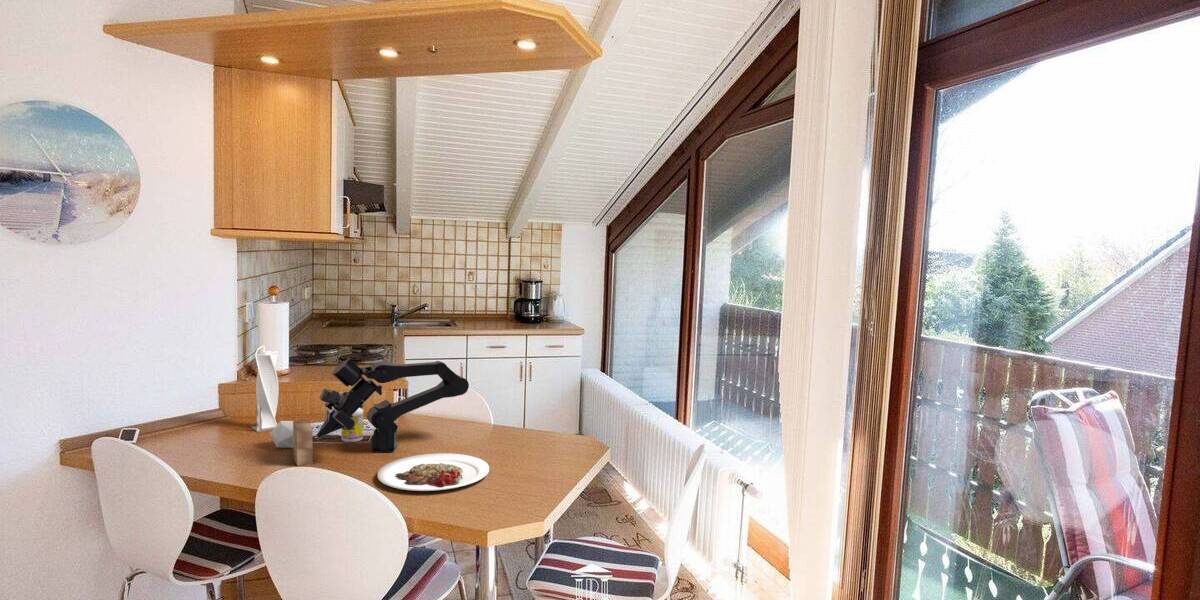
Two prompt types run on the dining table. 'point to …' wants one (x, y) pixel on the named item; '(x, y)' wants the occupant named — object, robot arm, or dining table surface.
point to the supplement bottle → (354, 428)
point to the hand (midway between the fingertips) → (317, 436)
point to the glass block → (302, 442)
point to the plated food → (433, 472)
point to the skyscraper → (266, 390)
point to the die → (283, 434)
